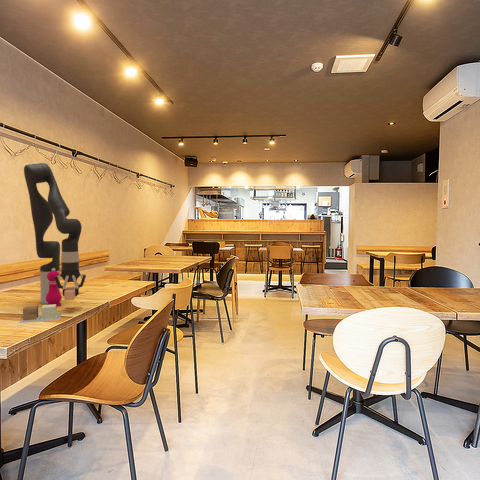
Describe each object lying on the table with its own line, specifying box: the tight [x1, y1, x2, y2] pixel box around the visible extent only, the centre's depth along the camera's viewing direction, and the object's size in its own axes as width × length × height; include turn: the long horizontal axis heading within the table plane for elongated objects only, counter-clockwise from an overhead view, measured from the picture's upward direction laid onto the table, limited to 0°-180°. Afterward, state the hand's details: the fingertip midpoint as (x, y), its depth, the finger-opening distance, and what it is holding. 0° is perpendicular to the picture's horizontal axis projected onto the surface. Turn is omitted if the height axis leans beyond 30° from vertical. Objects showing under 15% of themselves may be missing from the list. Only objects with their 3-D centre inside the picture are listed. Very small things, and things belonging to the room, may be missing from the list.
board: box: [18, 312, 63, 324], centre depth 149 cm, size 12×15×1 cm
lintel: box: [63, 285, 77, 301], centre depth 162 cm, size 12×4×4 cm, turn 21°
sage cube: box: [41, 304, 57, 319], centre depth 150 cm, size 5×5×5 cm
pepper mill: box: [46, 268, 63, 308], centre depth 173 cm, size 7×7×20 cm
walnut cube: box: [22, 305, 39, 321], centre depth 147 cm, size 5×5×5 cm
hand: (70, 296), depth 162 cm, fingers closed on lintel, 4 cm apart
